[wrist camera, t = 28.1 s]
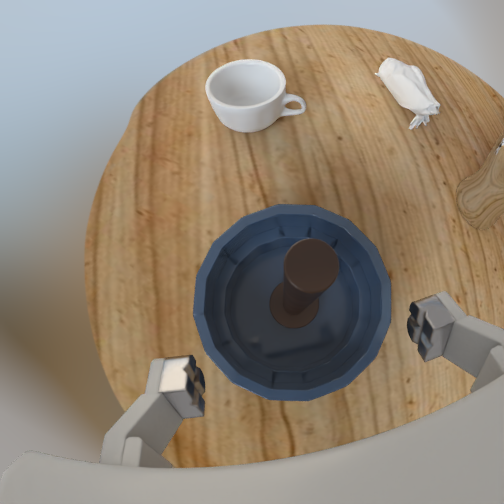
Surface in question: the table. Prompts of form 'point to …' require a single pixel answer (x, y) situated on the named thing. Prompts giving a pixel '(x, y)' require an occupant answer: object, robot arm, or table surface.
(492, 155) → the silver metal tumbler
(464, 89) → the table surface
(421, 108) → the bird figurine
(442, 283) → the table surface
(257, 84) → the teacup
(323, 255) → the stick
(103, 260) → the table surface
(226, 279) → the bowl
